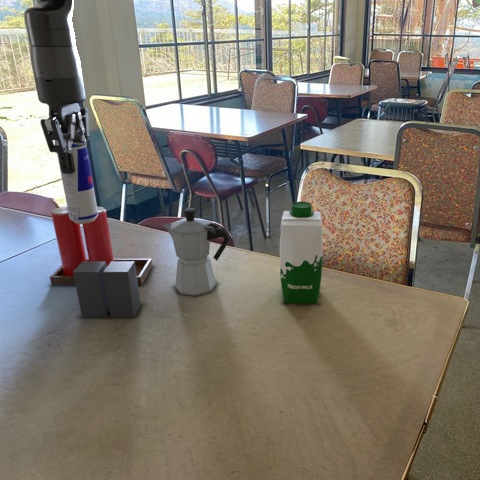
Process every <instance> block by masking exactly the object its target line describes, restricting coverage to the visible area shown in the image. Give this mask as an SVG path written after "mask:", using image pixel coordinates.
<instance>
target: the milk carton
mask: <svg viewBox="0 0 480 480" xmlns="http://www.w3.org/2000/svg"><path fill="white" fill-rule="evenodd" d="M312 207H313V205H312V203H311V202H308V201H295V202H293V203H292V204H291V210H284V211H283V213H282V218H281V223H280V228H279V233H280V236H279V237H280V238H279V277H280V284H281V290H282V299H283V304H307V305H309V304H311V305H312V304H313V305H315V304H316V305H317V304H318V300H319V296H320V295H319V294H320V289H321V282H322V278H323V277H322V275H323V254H324V253H323V251H324V250H323V249H324V248H323V247H324V246H323V245H324V239H323V238H324V236H323V234H324V228H323V226H322V225H323V221H322V215H321V212H320V211H314V210H312Z"/></svg>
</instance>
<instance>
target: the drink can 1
mask: <svg viewBox="0 0 480 480" xmlns="http://www.w3.org/2000/svg"><path fill="white" fill-rule="evenodd" d="M50 215H51V218H52V223H53V228H54V233H55V239H56V243H57V248H58V252H59V258H60V262H61V265H62V267H63V272H64V276H74V275H73V271H74V270H75V269H76V268H77V267H78V266H79V265H80V264H81V262H82V261H87V259H88V258H87V254H86V249H85V244H84V239H83V234H82V228H81V224H78V223H75V222H74V221H72V220H71V219H70V217H69V213H68V207H67V205H66V206H60V207H56V208H54V209H53V210H52V211H50Z"/></svg>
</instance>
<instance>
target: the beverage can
mask: <svg viewBox="0 0 480 480" xmlns="http://www.w3.org/2000/svg"><path fill="white" fill-rule="evenodd" d="M65 145H66V142H65ZM71 147H72V151H71V153H72V155H73V160H74V166H75V172H74V173H73V174H64V173H62V172H61V167H60V162H59V157H58V153H56V156H57V160H58V165H59V170H60V177H61V181H62V186H63V190H64V192H63V193H64V196H65V197H64V198H65V202H66V206H67V207H68V213H69V217H70V219H71V220H72V221H74V222H75V223H78V224H80V225H82V224H85V223H90V222H93V221H94V220H95V218H97V217H98V211H97V207H98V206H97V200H96V199H97V198H96V193H95V187H94V181H93V176H92V169H91V164H90V158H89V151H88V148H87V143H86V144H84V143H71Z"/></svg>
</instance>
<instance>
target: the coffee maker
mask: <svg viewBox="0 0 480 480" xmlns="http://www.w3.org/2000/svg"><path fill="white" fill-rule="evenodd" d="M183 212H184V215H185V218H182V219H180V220H177V221H174V222H171V223H167V224H166V223H165V224H163V225H162V227H164V228H165V229H166V231H167V232H168V234H169V235H170V237H171V238H172V242H173V247H174V251H175V255H176V257H177V258H178V259H177V263H176V274H175V275H176V277H175V285H174V286H175V287H174V288H175V289H176V290H177V291H178V293H179V294H180V295H186V296H187V295H188V296H193V297H196V296H200V295H203V294H206V293H211V291H212V290H213V289H214V288H215V287H216V285H217V281H216V277H215V274H214V270H213V265H212V263H211V258H210V256H209V255H210V247H211V241H212V240H215V239H219V238H222V239H223V241H222V243H221V245H219V247H218V249H217V251H216V253H215V254H214V256H213V259H214V260H215V261H218V260H219V259H220V257H221V256H222V254H223V252H224V251H225V249H226V247H227V246H228V244H229V243H230V241H231V239H232V238H231V235H230V233H229V232H228V230H227V229H226V228H224V227H220V225H218V224H217V223H216V222H211V221H210V220H207V219H203V218H200V217H196V218H195V214H196V208H193V207H188V208H185V209H184V210H183Z"/></svg>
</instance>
